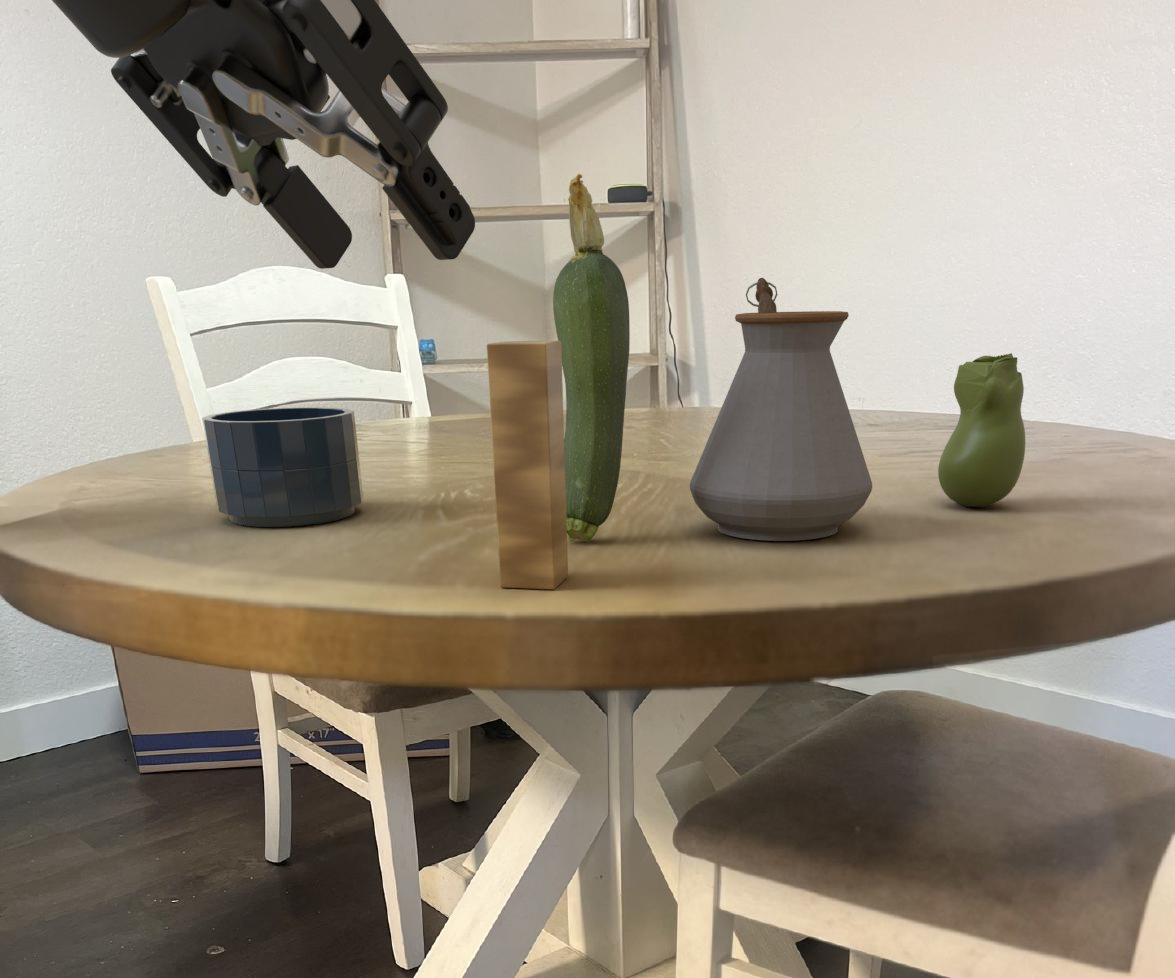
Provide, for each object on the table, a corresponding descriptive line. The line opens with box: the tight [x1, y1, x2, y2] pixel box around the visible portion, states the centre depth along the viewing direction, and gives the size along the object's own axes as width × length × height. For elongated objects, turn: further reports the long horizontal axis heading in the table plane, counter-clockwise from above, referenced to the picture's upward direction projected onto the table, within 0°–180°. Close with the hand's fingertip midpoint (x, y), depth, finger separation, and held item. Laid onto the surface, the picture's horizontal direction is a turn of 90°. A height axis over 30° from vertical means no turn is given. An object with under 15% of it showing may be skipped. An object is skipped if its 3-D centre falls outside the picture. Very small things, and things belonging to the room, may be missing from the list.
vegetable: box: [552, 173, 631, 543], centre depth 61 cm, size 4×4×20 cm
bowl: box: [201, 406, 364, 528], centre depth 74 cm, size 10×10×7 cm
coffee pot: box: [689, 277, 873, 542], centre depth 69 cm, size 21×12×15 cm, turn 178°
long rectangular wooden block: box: [486, 340, 569, 591], centre depth 54 cm, size 3×3×12 cm
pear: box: [937, 352, 1026, 508], centre depth 71 cm, size 6×5×10 cm
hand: (395, 249), depth 45 cm, fingers open, 8 cm apart
